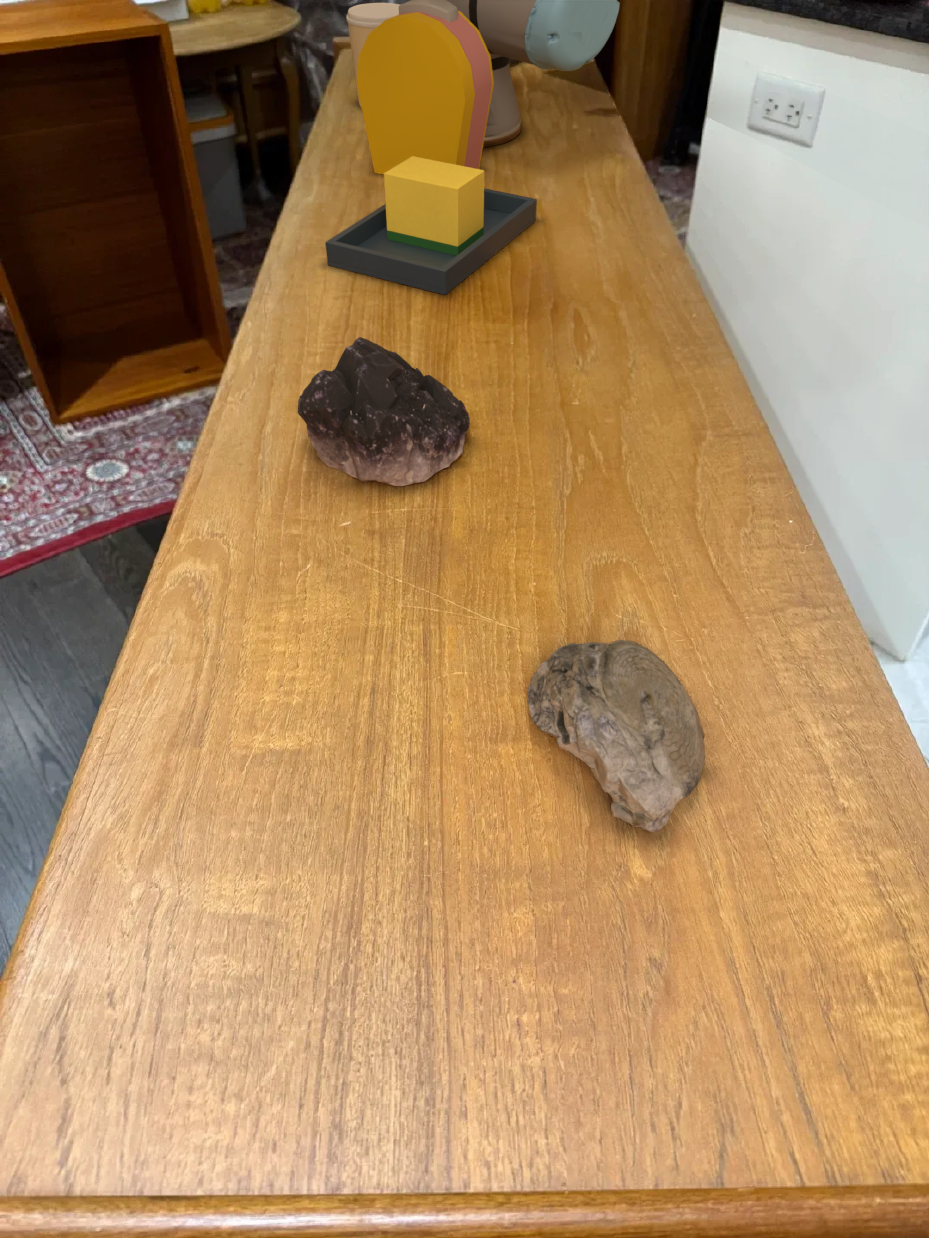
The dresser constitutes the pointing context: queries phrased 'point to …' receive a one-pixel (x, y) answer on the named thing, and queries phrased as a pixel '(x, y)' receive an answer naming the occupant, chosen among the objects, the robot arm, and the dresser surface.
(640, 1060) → the dresser surface
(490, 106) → the robot arm
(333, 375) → the crystal cluster
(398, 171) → the sponge
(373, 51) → the yellow arched slab
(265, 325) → the dresser surface
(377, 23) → the coffee cup
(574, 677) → the fossilized seashell
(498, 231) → the tray
